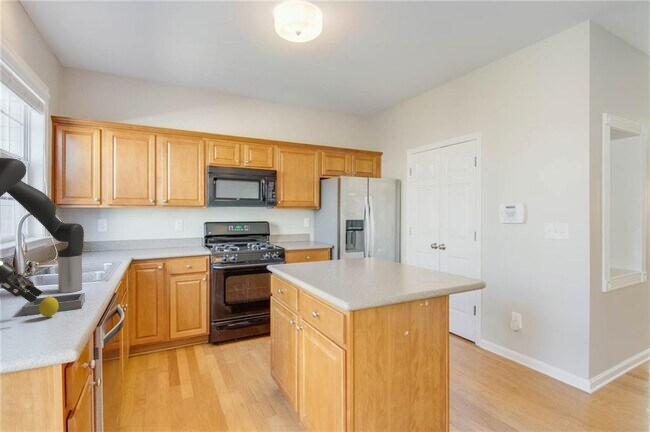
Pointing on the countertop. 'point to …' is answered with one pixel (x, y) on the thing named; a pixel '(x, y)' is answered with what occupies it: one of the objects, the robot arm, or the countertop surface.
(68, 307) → the tray
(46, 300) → the lemon
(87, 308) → the countertop surface
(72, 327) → the countertop surface
